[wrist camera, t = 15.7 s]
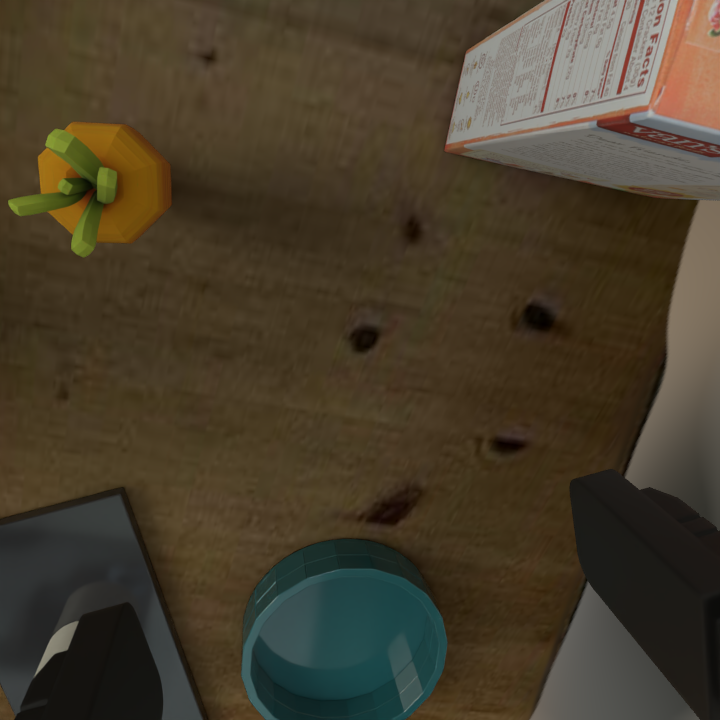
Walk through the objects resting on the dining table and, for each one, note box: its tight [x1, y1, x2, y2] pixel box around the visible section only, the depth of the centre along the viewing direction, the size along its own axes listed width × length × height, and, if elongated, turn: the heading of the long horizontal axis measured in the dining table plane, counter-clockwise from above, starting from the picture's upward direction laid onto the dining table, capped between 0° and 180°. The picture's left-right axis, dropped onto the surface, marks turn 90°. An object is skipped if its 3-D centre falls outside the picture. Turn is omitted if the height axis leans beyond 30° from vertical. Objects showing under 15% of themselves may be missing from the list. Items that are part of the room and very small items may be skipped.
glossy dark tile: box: [0, 487, 208, 720], centre depth 42 cm, size 11×20×1 cm, turn 12°
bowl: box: [241, 539, 448, 720], centre depth 43 cm, size 13×13×4 cm
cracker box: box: [444, 0, 720, 200], centre depth 28 cm, size 14×6×21 cm, turn 78°
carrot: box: [8, 122, 172, 257], centre depth 28 cm, size 5×5×15 cm
